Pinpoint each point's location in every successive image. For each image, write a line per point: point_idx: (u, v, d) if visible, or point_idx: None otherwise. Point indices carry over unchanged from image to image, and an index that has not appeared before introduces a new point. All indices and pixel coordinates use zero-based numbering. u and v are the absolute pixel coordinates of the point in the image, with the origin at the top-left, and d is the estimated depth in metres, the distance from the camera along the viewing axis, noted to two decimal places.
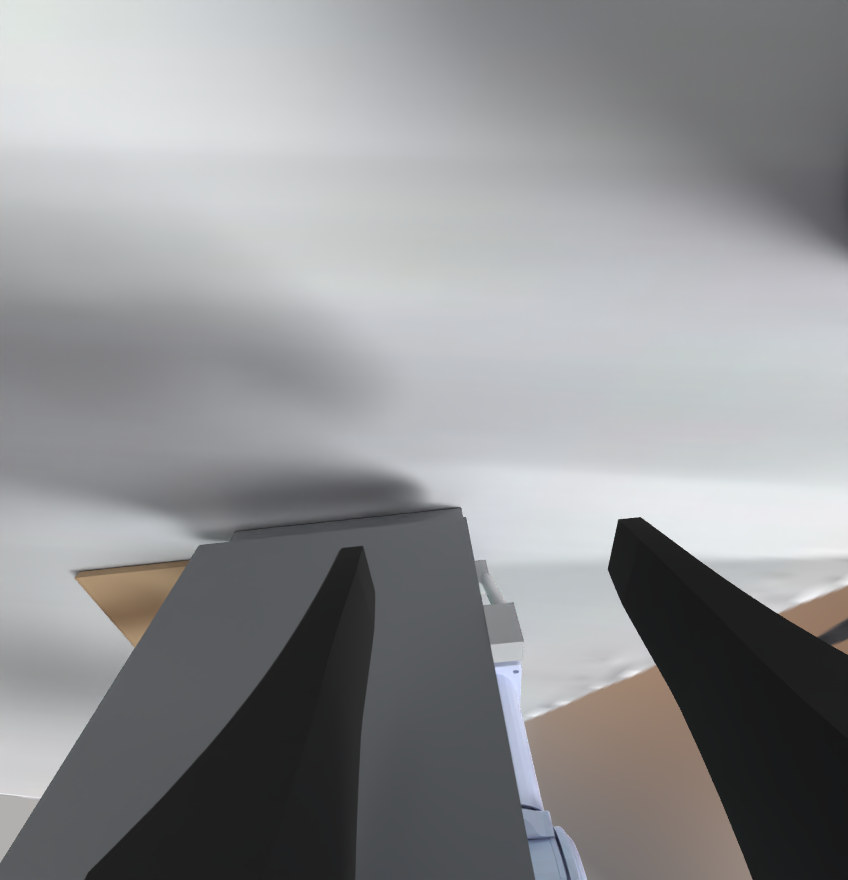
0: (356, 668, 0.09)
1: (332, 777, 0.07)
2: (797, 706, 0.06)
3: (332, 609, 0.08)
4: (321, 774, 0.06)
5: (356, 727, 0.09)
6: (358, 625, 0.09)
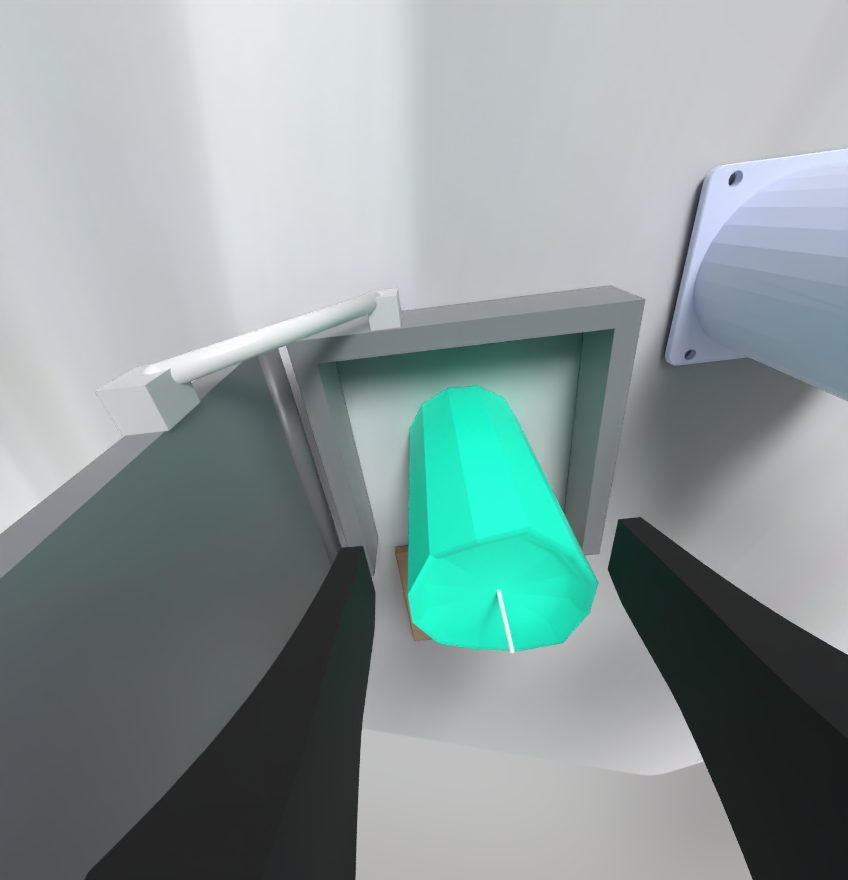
0: (356, 668, 0.09)
1: (332, 777, 0.07)
2: (798, 706, 0.06)
3: (332, 609, 0.08)
4: (321, 774, 0.06)
5: (356, 727, 0.09)
6: (358, 625, 0.09)
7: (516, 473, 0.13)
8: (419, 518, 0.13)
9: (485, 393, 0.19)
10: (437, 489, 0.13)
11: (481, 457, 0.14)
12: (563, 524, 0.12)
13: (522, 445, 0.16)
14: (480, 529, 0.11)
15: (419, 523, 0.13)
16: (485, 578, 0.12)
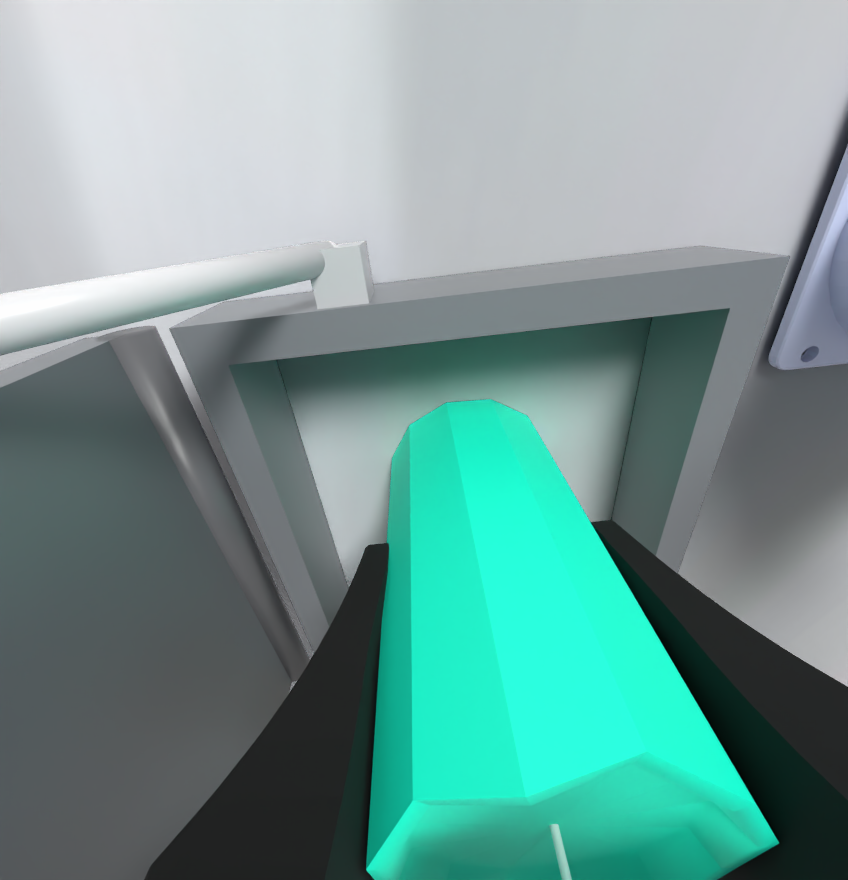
0: None
1: None
2: (747, 710, 0.06)
3: (366, 606, 0.08)
4: (365, 770, 0.06)
5: None
6: None
7: (580, 575, 0.07)
8: (396, 658, 0.07)
9: (502, 411, 0.13)
10: (431, 602, 0.07)
11: (510, 536, 0.08)
12: (696, 706, 0.06)
13: (572, 503, 0.09)
14: (532, 754, 0.05)
15: (396, 672, 0.07)
16: (530, 812, 0.06)
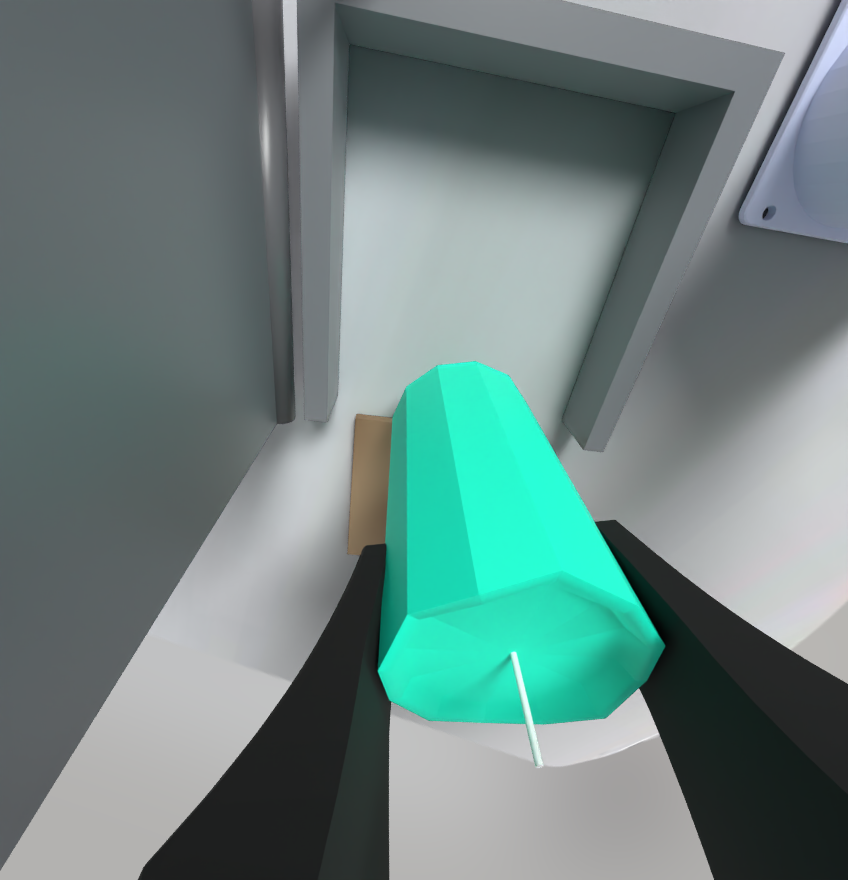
0: None
1: (369, 774, 0.07)
2: (751, 710, 0.06)
3: (362, 606, 0.08)
4: (361, 771, 0.06)
5: (385, 724, 0.09)
6: None
7: (534, 480, 0.09)
8: (396, 547, 0.09)
9: (485, 370, 0.15)
10: (421, 505, 0.09)
11: (482, 457, 0.10)
12: (609, 557, 0.08)
13: (537, 437, 0.12)
14: (485, 575, 0.07)
15: (396, 555, 0.09)
16: (494, 638, 0.08)
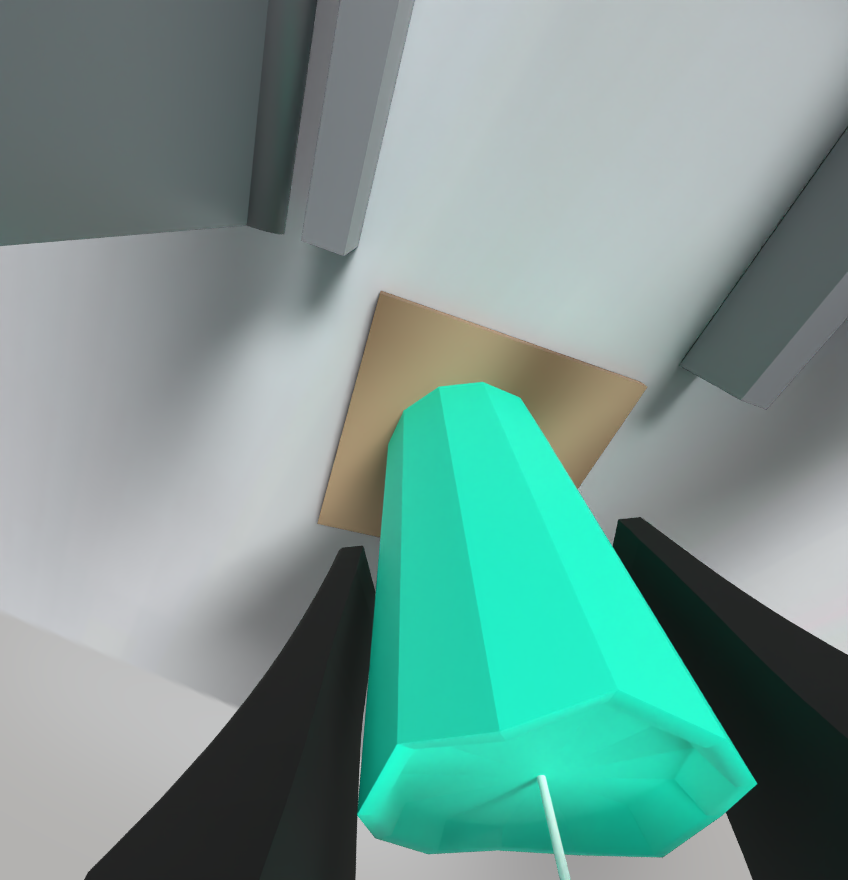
0: (356, 668, 0.09)
1: (332, 777, 0.07)
2: (797, 706, 0.06)
3: (332, 609, 0.08)
4: (321, 774, 0.06)
5: (356, 727, 0.09)
6: (358, 625, 0.09)
7: (563, 538, 0.07)
8: (387, 623, 0.07)
9: (494, 392, 0.13)
10: (418, 568, 0.07)
11: (495, 505, 0.08)
12: (673, 654, 0.06)
13: (560, 476, 0.10)
14: (508, 695, 0.05)
15: (386, 635, 0.07)
16: (516, 761, 0.06)
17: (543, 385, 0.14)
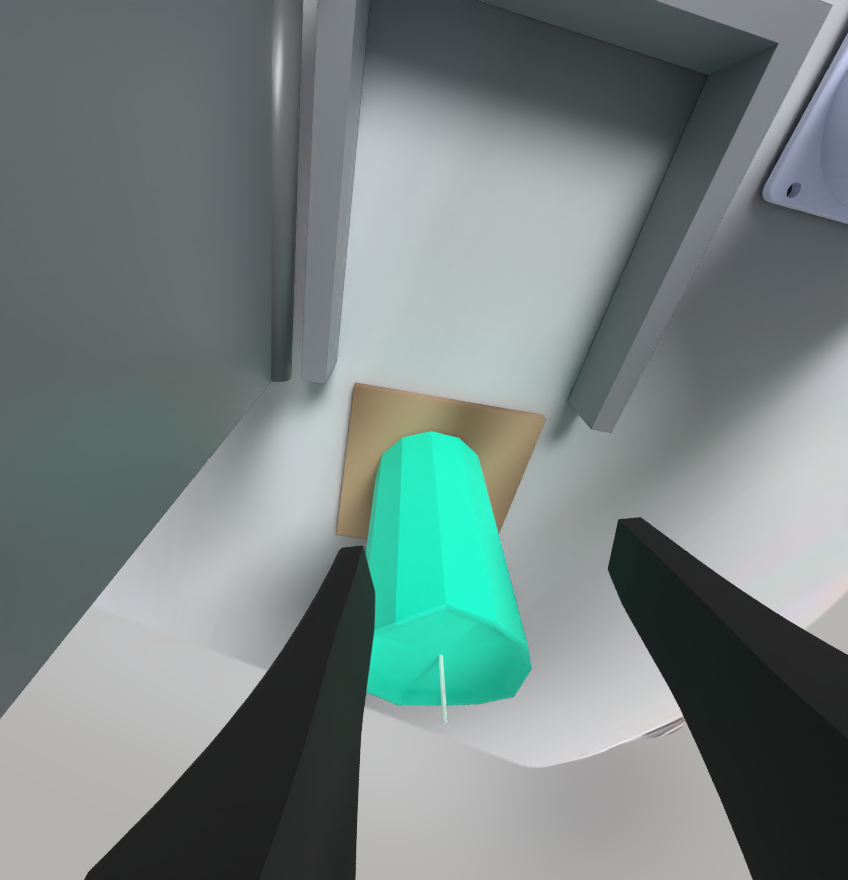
0: (356, 668, 0.09)
1: (332, 777, 0.07)
2: (798, 706, 0.06)
3: (332, 609, 0.08)
4: (321, 774, 0.06)
5: (356, 727, 0.09)
6: (358, 625, 0.09)
7: (449, 537, 0.14)
8: None
9: (438, 439, 0.19)
10: (377, 559, 0.14)
11: (417, 522, 0.14)
12: (489, 590, 0.12)
13: (465, 497, 0.16)
14: (401, 609, 0.11)
15: None
16: (423, 647, 0.13)
17: (473, 427, 0.20)
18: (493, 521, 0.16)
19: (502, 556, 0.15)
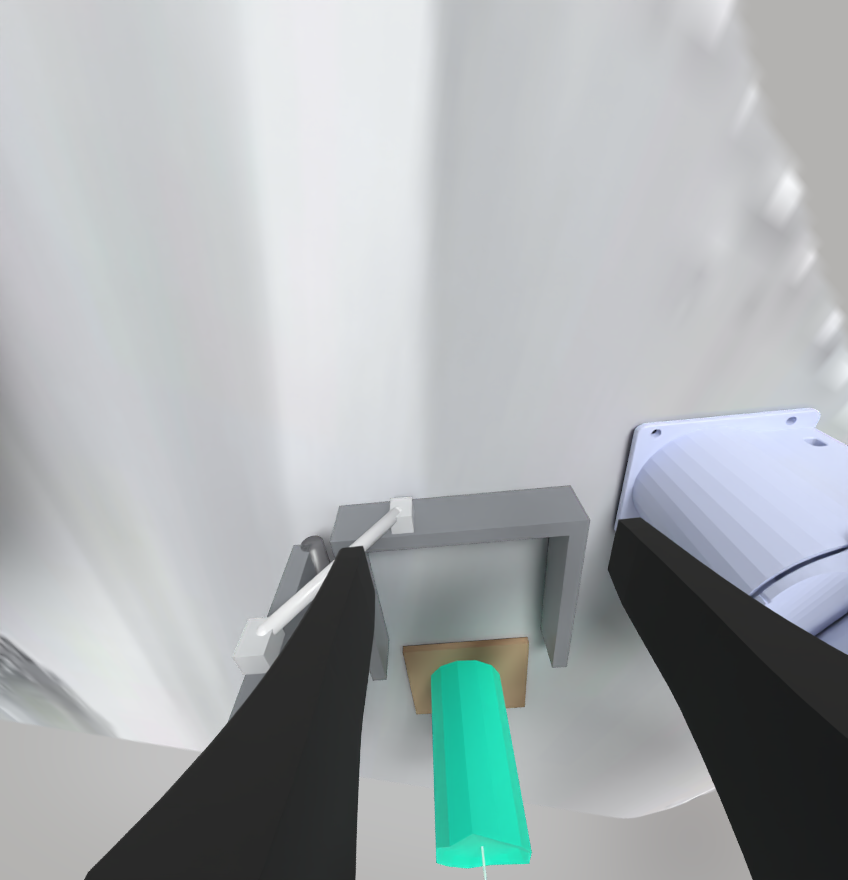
0: (356, 668, 0.09)
1: (332, 777, 0.07)
2: (797, 706, 0.06)
3: (332, 609, 0.08)
4: (321, 774, 0.06)
5: (356, 727, 0.09)
6: (358, 625, 0.09)
7: (472, 775, 0.25)
8: None
9: (461, 668, 0.31)
10: (437, 787, 0.26)
11: (454, 760, 0.26)
12: (495, 815, 0.23)
13: (481, 730, 0.27)
14: (451, 836, 0.23)
15: None
16: (471, 845, 0.24)
17: (482, 654, 0.31)
18: (502, 739, 0.27)
19: (507, 773, 0.25)
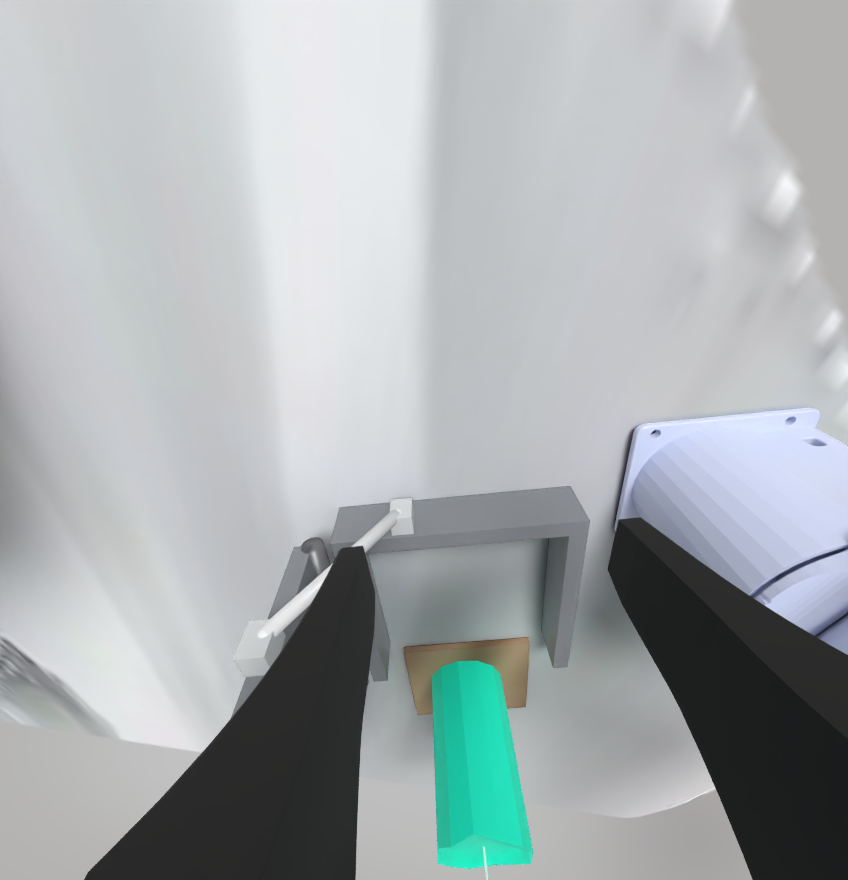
0: (356, 668, 0.09)
1: (332, 777, 0.07)
2: (797, 706, 0.06)
3: (332, 609, 0.08)
4: (321, 774, 0.06)
5: (356, 727, 0.09)
6: (358, 625, 0.09)
7: (473, 775, 0.25)
8: None
9: (462, 669, 0.31)
10: (439, 788, 0.26)
11: (455, 761, 0.26)
12: (497, 816, 0.23)
13: (482, 730, 0.27)
14: (453, 837, 0.23)
15: (436, 810, 0.25)
16: (472, 845, 0.24)
17: (483, 655, 0.31)
18: (503, 739, 0.27)
19: (508, 773, 0.25)
